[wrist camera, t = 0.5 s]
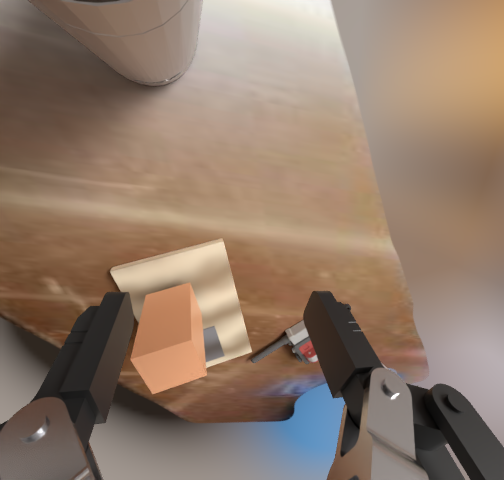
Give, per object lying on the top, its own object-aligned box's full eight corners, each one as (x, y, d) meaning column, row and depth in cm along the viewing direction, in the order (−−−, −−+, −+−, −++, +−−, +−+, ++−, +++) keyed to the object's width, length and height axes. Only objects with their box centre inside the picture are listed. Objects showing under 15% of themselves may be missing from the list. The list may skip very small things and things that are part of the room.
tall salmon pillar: (145, 295, 28) (130, 359, 21) (190, 282, 29) (191, 339, 21) (161, 326, 31) (152, 394, 23) (201, 313, 32) (206, 375, 24)
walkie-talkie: (341, 292, 42) (246, 351, 42) (357, 309, 38) (253, 374, 38) (354, 319, 46) (268, 373, 47) (370, 337, 42) (276, 395, 43)
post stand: (112, 267, 29) (75, 337, 19) (222, 238, 31) (238, 288, 21) (170, 374, 39) (165, 454, 30) (250, 347, 41) (269, 414, 32)
